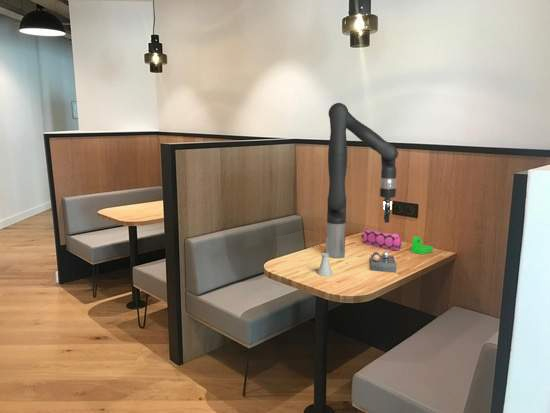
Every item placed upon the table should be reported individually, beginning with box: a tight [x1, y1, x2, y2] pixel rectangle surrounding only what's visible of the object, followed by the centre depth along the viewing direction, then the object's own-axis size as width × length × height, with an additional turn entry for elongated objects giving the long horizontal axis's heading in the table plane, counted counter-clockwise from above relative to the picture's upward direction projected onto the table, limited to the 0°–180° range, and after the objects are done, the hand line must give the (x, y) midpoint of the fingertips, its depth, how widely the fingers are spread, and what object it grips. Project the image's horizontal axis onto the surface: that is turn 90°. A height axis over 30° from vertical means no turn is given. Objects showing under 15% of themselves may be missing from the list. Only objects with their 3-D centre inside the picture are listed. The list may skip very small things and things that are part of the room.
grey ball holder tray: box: [370, 254, 398, 273], centre depth 208 cm, size 11×18×4 cm, turn 169°
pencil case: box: [361, 226, 403, 251], centre depth 240 cm, size 21×10×10 cm, turn 46°
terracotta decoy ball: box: [373, 254, 380, 261], centre depth 206 cm, size 3×3×3 cm
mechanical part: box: [411, 236, 434, 255], centre depth 233 cm, size 12×6×8 cm, turn 124°
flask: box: [316, 252, 333, 277], centre depth 193 cm, size 7×7×10 cm
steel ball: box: [382, 251, 390, 258], centre depth 212 cm, size 3×3×3 cm
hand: (386, 221), depth 216 cm, fingers open, 5 cm apart
